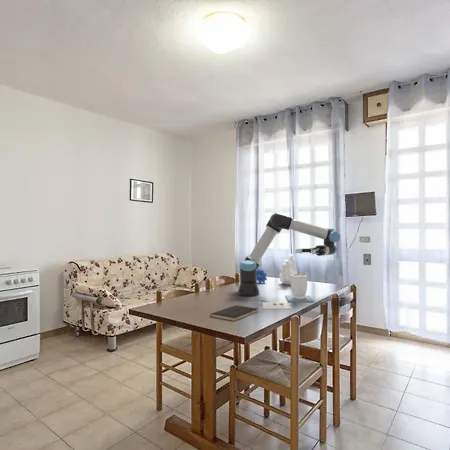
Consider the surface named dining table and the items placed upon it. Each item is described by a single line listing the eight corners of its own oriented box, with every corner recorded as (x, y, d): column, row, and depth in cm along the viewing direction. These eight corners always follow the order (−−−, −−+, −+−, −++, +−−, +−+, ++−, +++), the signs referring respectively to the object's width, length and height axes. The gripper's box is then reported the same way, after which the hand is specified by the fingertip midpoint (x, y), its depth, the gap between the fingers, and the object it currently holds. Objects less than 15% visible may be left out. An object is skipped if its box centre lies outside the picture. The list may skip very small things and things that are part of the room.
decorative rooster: (287, 281, 290) (286, 253, 291) (303, 283, 280) (302, 253, 280) (270, 285, 272) (270, 255, 272) (287, 287, 261) (286, 256, 262)
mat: (288, 302, 212) (288, 300, 212) (285, 296, 227) (285, 295, 227) (313, 302, 210) (313, 300, 210) (309, 296, 226) (309, 295, 226)
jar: (295, 300, 213) (295, 276, 213) (288, 296, 222) (287, 274, 223) (310, 299, 215) (310, 275, 215) (302, 295, 225) (302, 273, 225)
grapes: (252, 283, 285) (252, 269, 285) (254, 282, 291) (254, 268, 291) (265, 284, 280) (265, 269, 280) (267, 282, 286) (267, 268, 286)
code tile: (263, 308, 195) (263, 308, 195) (262, 302, 211) (262, 302, 211) (291, 308, 194) (291, 308, 194) (287, 302, 210) (287, 302, 210)
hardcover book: (258, 312, 189) (258, 308, 189) (235, 322, 171) (234, 317, 171) (234, 308, 199) (234, 304, 199) (210, 317, 180) (210, 313, 180)
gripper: (337, 256, 232) (320, 258, 218) (307, 254, 251) (289, 256, 237) (337, 245, 232) (319, 247, 218) (307, 244, 251) (289, 245, 237)
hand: (303, 251), depth 227 cm, fingers open, 13 cm apart
